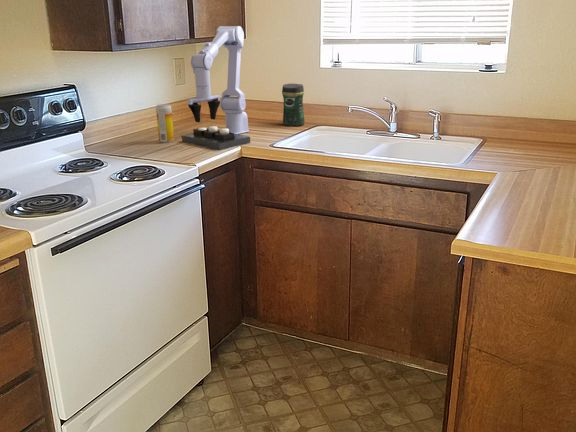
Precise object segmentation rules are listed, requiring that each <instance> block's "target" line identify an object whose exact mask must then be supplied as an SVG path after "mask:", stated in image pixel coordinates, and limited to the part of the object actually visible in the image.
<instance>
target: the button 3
mask: <svg viewBox="0 0 576 432" xmlns="http://www.w3.org/2000/svg"><path fill="white" fill-rule="evenodd" d="M219 130H220V135H227V134H229V129H227V128H226V127H224V128H219Z"/></svg>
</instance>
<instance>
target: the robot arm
mask: <svg viewBox="0 0 576 432" xmlns="http://www.w3.org/2000/svg"><path fill="white" fill-rule="evenodd" d="M215 31H216V32H215V33H216V35H215V36H214V37H213V39H212V41H211V42H206V43H205V45H204V46H203V47H202V48H201V50H199V52H198V53H195V54H193V55H192V56H191V60H190V66H191V68H192V72H193V74H194V79H195V97H192V98H191V97H190V98H188V99H187V100H186V101H187V107H189V109H190V111H191V112H192V115H193V118H194V121H195V122H196V123H200V122H201V109H202V104H201V103H207V105H208V109H209V118H210V119H211V120H216V117H217V112H218V109H219V107H220V108H221V110H222V111H223V113H224V117H225V118H224V119H225V128H227V129H229V132H230V133H234V134H239V135H241V134H245V133H248V132H250V130H249V119H248V114H247V113H246V112H245V109H246V107H247V105H246V104H247V103H246V95H245V93H244V92H243V91H242V90H241V89H240V77H241V76H240V75H241V62H242V61H241V59H242V48H244V42H245V33H244V29H243V27H241V26H240V25H234V26H232V25H230V26H229V25H228V26H222V25H220V26H218V28H217V29H216V30H215ZM222 46H223V47H224V48H226V49H227V50H228V61H227V62H228V64H227V82H226V83H227V84H226V89H225V90H224V91H222V93H221V95H220V94H214V95H213V94H212V89H211V87H212V86H211V75H210V73H211V71H210V70H211V68H212V65H213V62H214V59H215V58H216V57H217V55H218V54H219V51H220V50H219V49H220V48H221V47H222Z"/></svg>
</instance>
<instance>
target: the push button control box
mask: <svg viewBox="0 0 576 432" xmlns="http://www.w3.org/2000/svg"><path fill="white" fill-rule="evenodd" d="M198 128H199V127H198ZM198 128H193V129H192V132H193V133H192V132H191V133H186V134H182V135H181V142H183V143H187V144H191V145H196V146H201V147H205V148H209V149H212V150H213V149H214V150H219V151H222V150H225V149H231V148H235V147H238V146H243V145H247V144H250V143H251V136H248V135H242V134H234V133H230V132H229V134H227V135H220V129H218V132H214V133H210V132H209V129H208V127H206V128H207V130H202V131H201V130H198ZM201 128H205V127H201ZM234 146H235V147H234ZM230 147H231V148H230Z"/></svg>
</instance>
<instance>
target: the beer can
mask: <svg viewBox="0 0 576 432" xmlns="http://www.w3.org/2000/svg"><path fill="white" fill-rule="evenodd" d="M155 113H156V122H157V123H156V124H157V131H158V141H160V143H165V144H169V143H172V142H174V140H175V136H174V135H175V133H174V123H173V112H172V106H171V103H159V104H156V107H155Z"/></svg>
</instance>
